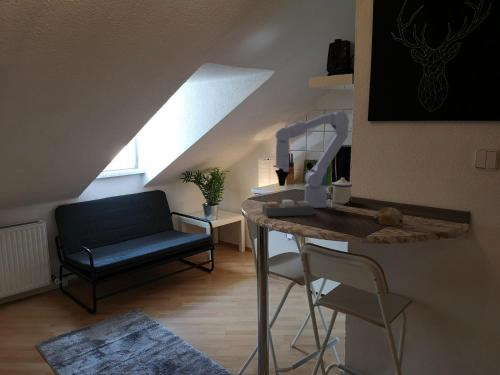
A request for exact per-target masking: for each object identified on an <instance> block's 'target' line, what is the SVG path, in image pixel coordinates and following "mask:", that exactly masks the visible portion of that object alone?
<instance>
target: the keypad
mask: <svg viewBox="0 0 500 375" xmlns="http://www.w3.org/2000/svg"><path fill="white" fill-rule="evenodd" d="M261 205H262V206H261V207H262V208H261V210H262V213H263V215H264V214H265V215H266V216H268V217H287V216H288V217H290V216H293V217H295V216H313V215H314V210H315V208H314V206H312V205H311V204H309V206H298V205H297V202H294V206H288V207H284V206H282V202H281V203H278V207H268V206H267V203H262V204H261ZM265 215H264V216H265ZM266 216H265V217H266Z"/></svg>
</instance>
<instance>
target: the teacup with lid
mask: <svg viewBox="0 0 500 375" xmlns="http://www.w3.org/2000/svg"><path fill="white" fill-rule="evenodd" d="M351 183H352V182H349V181H348V180H346V179H345V177H340V179H339V180H337V181H334V182H333V183H332V185H330V186H328V188H327V190H328V191H327V192H328V194H329V195H330V196H331V197H332V203H335V204H339V205H340V204H341V205H346V203H347V202H348V201H349V199H350V197H351V198H352V192H351V187H352V186H353V184H351ZM352 188H353V187H352ZM331 189H332V191H331Z"/></svg>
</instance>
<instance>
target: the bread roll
mask: <svg viewBox="0 0 500 375" xmlns="http://www.w3.org/2000/svg"><path fill="white" fill-rule="evenodd" d="M373 220H374V221H376V222H377V224H379V225H382V224H383V226H389V225H394V226H393V227H396V226H397V225H400V226H402V225H403V222H404V216H403V214H402V212H401V211H400V210H398V209H397V208H395V207H391V206H389V207H388V206H387V207H383V208H380V209H379V210H378V211H377V212H376V213H375V214H374V218H373ZM376 222H375V223H376Z"/></svg>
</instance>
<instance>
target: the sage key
mask: <svg viewBox="0 0 500 375" xmlns="http://www.w3.org/2000/svg"><path fill="white" fill-rule="evenodd" d="M296 203H297V205H298V206H309V202H307V201H305V200H296Z"/></svg>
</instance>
